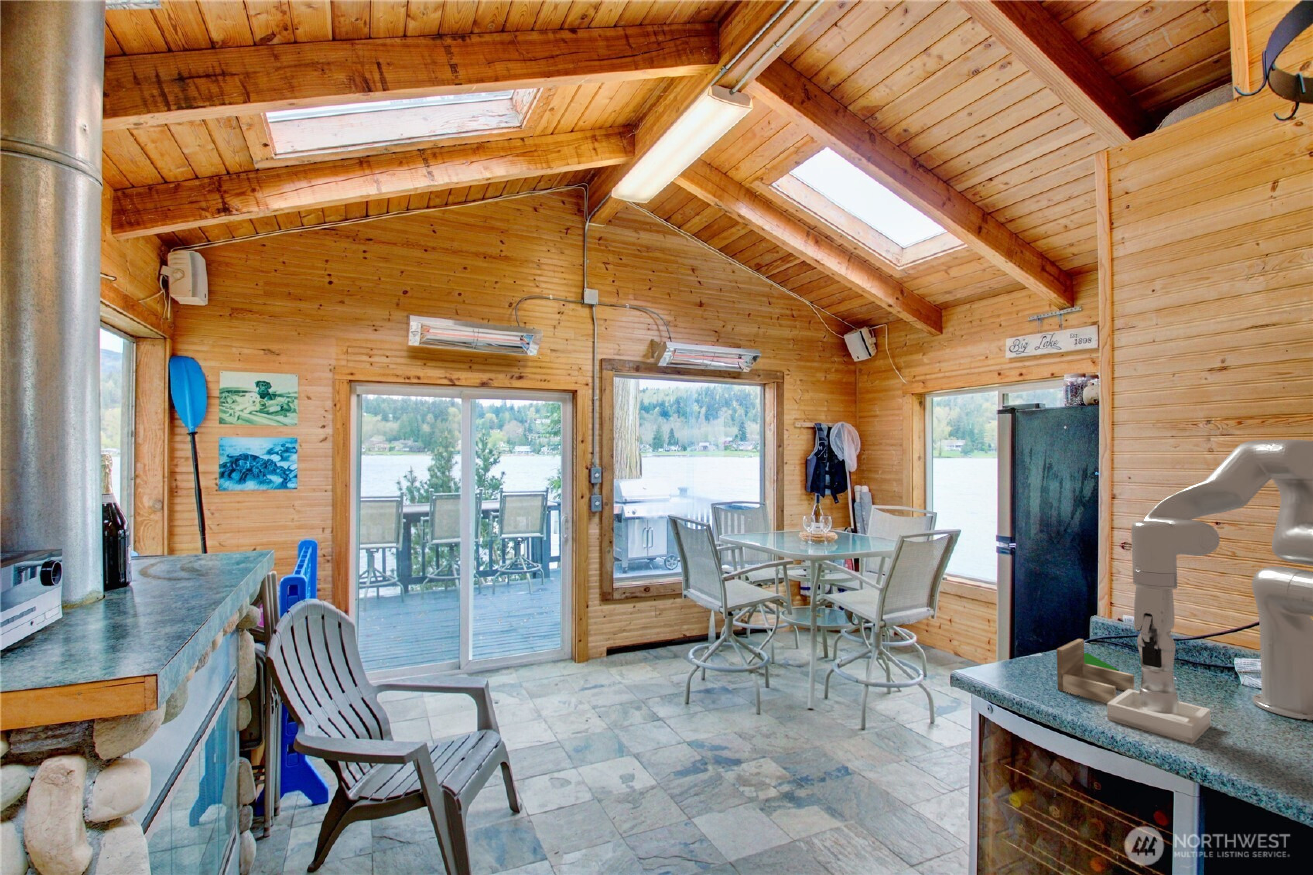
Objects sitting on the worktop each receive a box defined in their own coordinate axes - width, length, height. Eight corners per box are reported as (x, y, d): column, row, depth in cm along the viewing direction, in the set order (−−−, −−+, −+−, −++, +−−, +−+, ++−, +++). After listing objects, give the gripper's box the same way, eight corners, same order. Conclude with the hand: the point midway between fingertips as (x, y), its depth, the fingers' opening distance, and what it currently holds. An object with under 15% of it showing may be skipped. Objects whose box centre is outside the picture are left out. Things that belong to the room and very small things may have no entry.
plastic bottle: (1186, 718, 131) (1183, 622, 131) (1149, 716, 132) (1146, 621, 132) (1167, 706, 137) (1164, 614, 137) (1132, 704, 138) (1129, 613, 139)
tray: (1210, 725, 133) (1210, 708, 133) (1192, 743, 125) (1191, 726, 125) (1129, 704, 144) (1128, 688, 144) (1107, 719, 136) (1107, 703, 136)
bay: (1134, 691, 152) (1133, 649, 152) (1114, 705, 143) (1113, 661, 144) (1079, 677, 161) (1078, 638, 161) (1057, 690, 153) (1056, 648, 153)
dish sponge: (1088, 661, 175) (1087, 652, 175) (1120, 679, 161) (1119, 669, 161) (1061, 660, 175) (1060, 651, 175) (1090, 678, 162) (1090, 669, 162)
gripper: (1146, 571, 143) (1149, 650, 143) (1119, 581, 133) (1122, 666, 132) (1188, 576, 137) (1191, 658, 137) (1163, 587, 127) (1166, 676, 126)
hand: (1157, 661), depth 135 cm, fingers closed on plastic bottle, 6 cm apart
